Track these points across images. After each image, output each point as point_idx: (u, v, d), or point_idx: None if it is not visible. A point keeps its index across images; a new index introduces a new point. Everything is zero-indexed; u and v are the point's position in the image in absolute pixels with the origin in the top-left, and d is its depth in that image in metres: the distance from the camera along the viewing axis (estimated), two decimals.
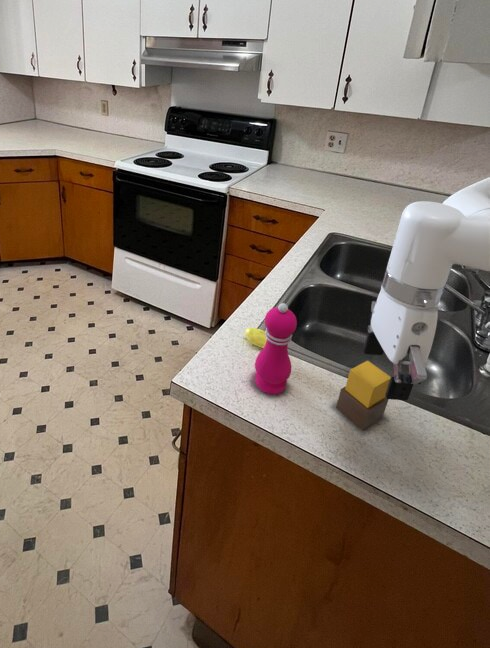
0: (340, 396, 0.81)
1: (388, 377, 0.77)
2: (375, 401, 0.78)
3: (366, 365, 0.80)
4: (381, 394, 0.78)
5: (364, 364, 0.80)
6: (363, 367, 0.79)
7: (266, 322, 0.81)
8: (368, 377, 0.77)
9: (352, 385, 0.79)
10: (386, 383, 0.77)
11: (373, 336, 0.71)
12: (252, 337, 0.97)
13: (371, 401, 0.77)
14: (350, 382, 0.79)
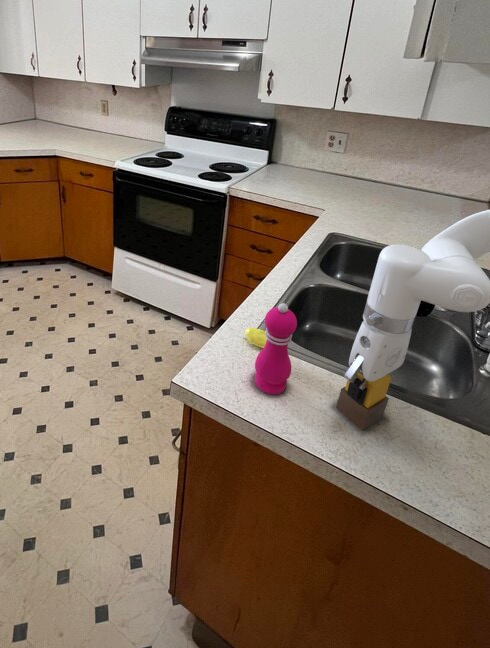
0: (340, 396, 0.81)
1: (388, 377, 0.77)
2: (375, 401, 0.78)
3: None
4: (381, 394, 0.78)
5: None
6: None
7: (266, 322, 0.81)
8: None
9: None
10: (386, 383, 0.77)
11: None
12: (252, 337, 0.97)
13: (371, 401, 0.77)
14: None
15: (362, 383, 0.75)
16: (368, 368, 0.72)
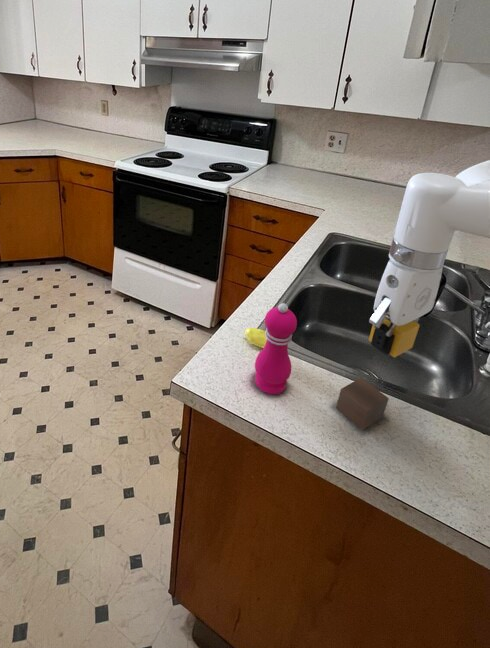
0: (340, 396, 0.81)
1: (416, 324, 0.71)
2: (402, 350, 0.72)
3: None
4: (409, 343, 0.72)
5: None
6: None
7: (266, 322, 0.81)
8: None
9: None
10: (414, 330, 0.71)
11: None
12: (252, 337, 0.97)
13: (398, 350, 0.71)
14: None
15: (389, 329, 0.69)
16: (396, 310, 0.66)
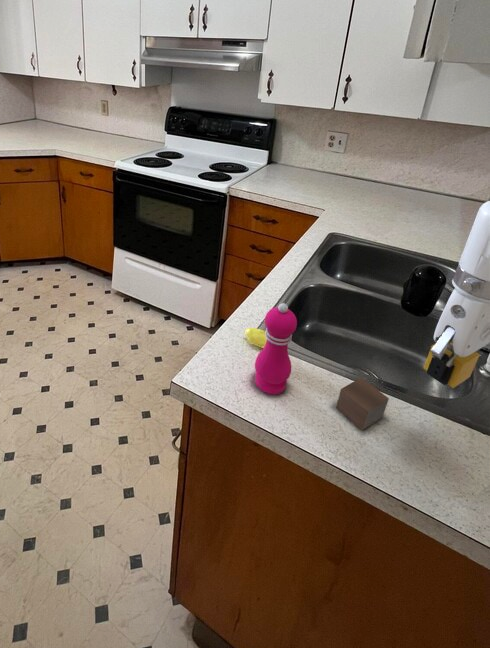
0: (340, 396, 0.81)
1: (476, 353, 0.69)
2: (461, 381, 0.69)
3: None
4: (468, 373, 0.69)
5: None
6: None
7: (266, 322, 0.81)
8: None
9: None
10: (474, 360, 0.68)
11: None
12: (252, 337, 0.97)
13: (458, 380, 0.68)
14: None
15: (450, 359, 0.66)
16: (461, 341, 0.63)
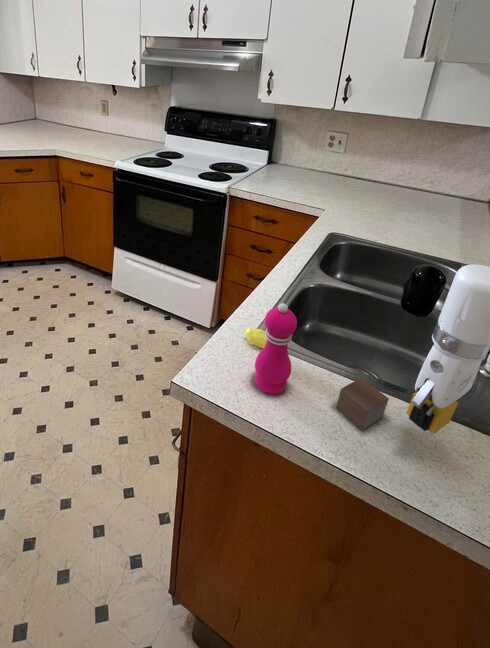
0: (340, 396, 0.81)
1: (455, 402, 0.73)
2: (440, 427, 0.74)
3: None
4: (447, 420, 0.74)
5: None
6: None
7: (266, 322, 0.81)
8: None
9: None
10: (453, 408, 0.73)
11: None
12: (252, 337, 0.97)
13: (437, 427, 0.73)
14: None
15: (429, 409, 0.71)
16: (439, 394, 0.68)
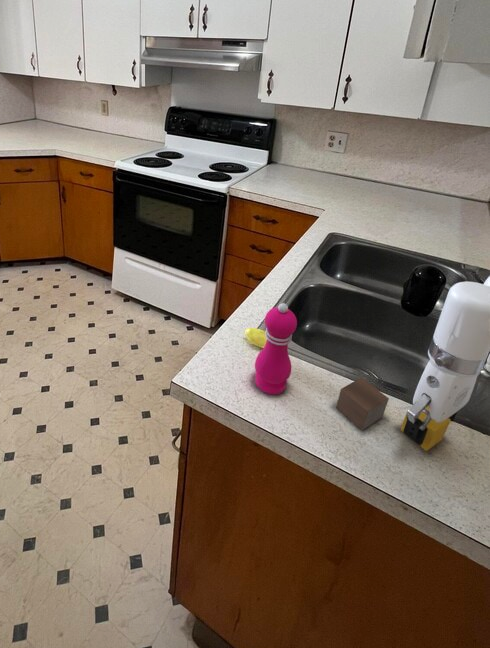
0: (340, 396, 0.81)
1: (447, 419, 0.75)
2: (434, 444, 0.76)
3: None
4: (440, 436, 0.76)
5: None
6: None
7: (266, 322, 0.81)
8: None
9: None
10: (445, 425, 0.75)
11: None
12: (252, 337, 0.97)
13: (430, 444, 0.75)
14: None
15: (424, 422, 0.71)
16: (436, 409, 0.69)
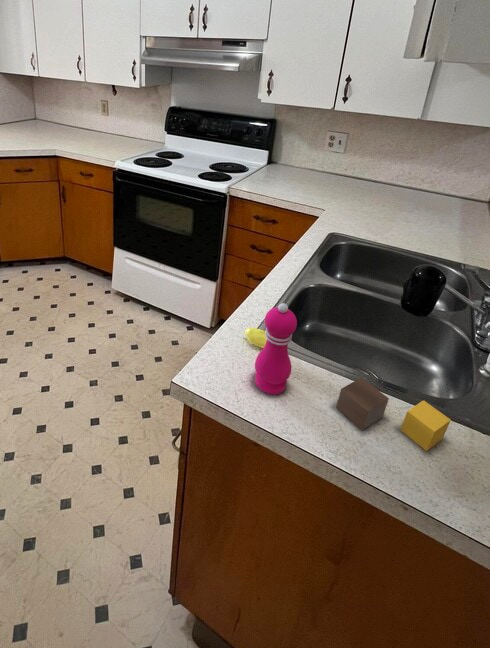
0: (340, 396, 0.81)
1: (447, 419, 0.75)
2: (434, 444, 0.76)
3: (422, 405, 0.78)
4: (440, 436, 0.76)
5: (421, 404, 0.78)
6: (420, 408, 0.77)
7: (266, 322, 0.81)
8: (427, 420, 0.75)
9: (409, 426, 0.77)
10: (445, 425, 0.75)
11: None
12: (252, 337, 0.97)
13: (430, 444, 0.75)
14: (407, 423, 0.77)
15: None
16: None
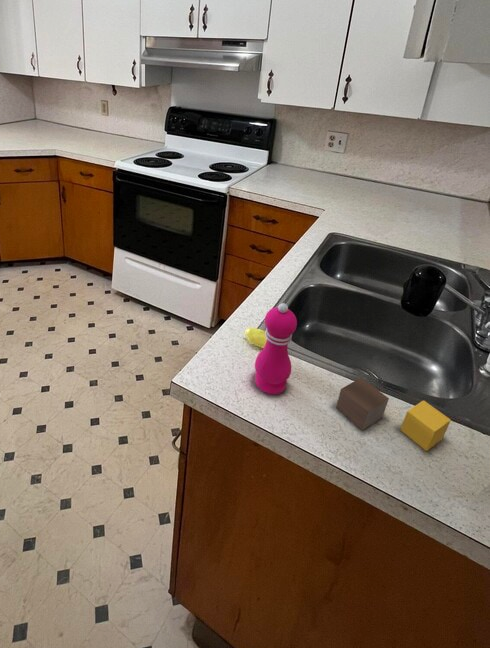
0: (340, 396, 0.81)
1: (447, 419, 0.75)
2: (434, 444, 0.76)
3: (422, 405, 0.78)
4: (440, 436, 0.76)
5: (421, 404, 0.78)
6: (420, 408, 0.77)
7: (266, 322, 0.81)
8: (427, 420, 0.75)
9: (409, 426, 0.77)
10: (445, 425, 0.75)
11: None
12: (252, 337, 0.97)
13: (430, 444, 0.75)
14: (407, 423, 0.77)
15: None
16: None
